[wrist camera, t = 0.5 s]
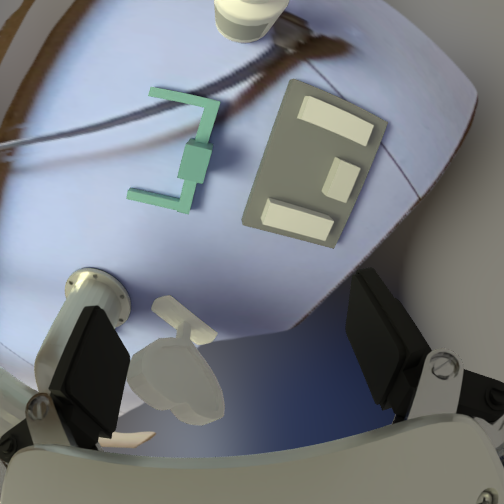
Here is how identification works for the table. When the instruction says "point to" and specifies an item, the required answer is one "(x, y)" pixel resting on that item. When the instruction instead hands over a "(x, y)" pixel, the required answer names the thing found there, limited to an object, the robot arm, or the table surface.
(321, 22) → the table surface
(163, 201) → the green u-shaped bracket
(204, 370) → the heart sculpture
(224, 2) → the white bottle
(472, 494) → the robot arm
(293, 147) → the stand
